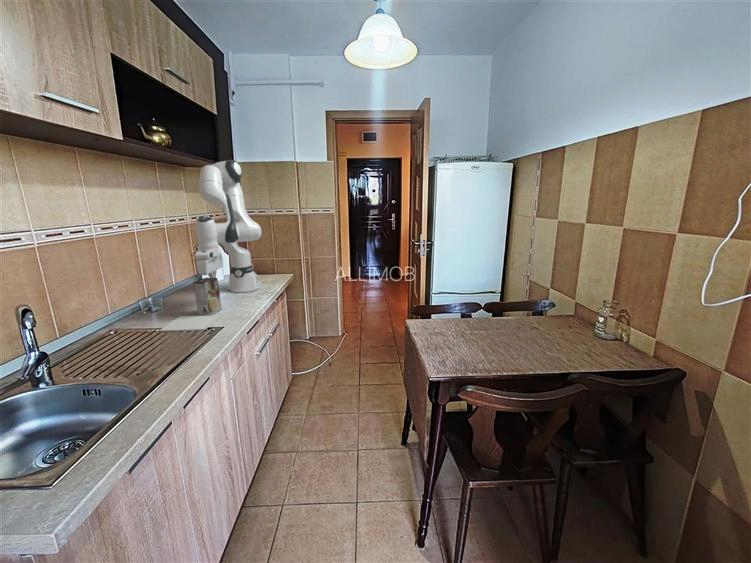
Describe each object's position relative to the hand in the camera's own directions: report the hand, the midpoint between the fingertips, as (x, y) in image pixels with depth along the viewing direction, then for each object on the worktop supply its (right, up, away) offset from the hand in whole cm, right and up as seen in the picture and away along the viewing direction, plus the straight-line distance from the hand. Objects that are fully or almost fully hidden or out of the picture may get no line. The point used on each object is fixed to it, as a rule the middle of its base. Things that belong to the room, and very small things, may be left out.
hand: (213, 280), depth 163 cm
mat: (-1, -19, -18) cm, 26 cm away
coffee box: (0, -16, -4) cm, 16 cm away
